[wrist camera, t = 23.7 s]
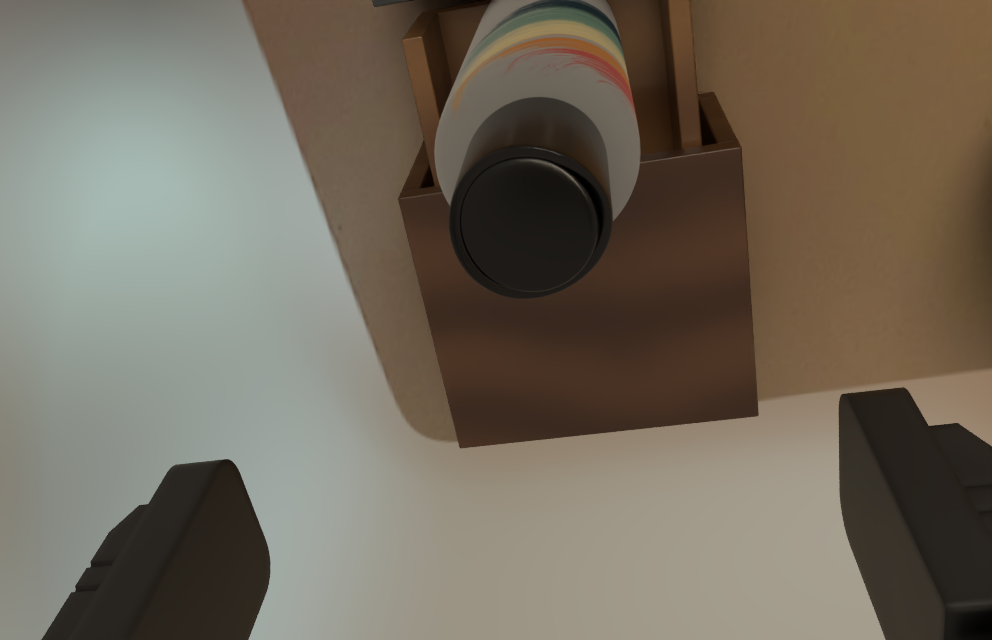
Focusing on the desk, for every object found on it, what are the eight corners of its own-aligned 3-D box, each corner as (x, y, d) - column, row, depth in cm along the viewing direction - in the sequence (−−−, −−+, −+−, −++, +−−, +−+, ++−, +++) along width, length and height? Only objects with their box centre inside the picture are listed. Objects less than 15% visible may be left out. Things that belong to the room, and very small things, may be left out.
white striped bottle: (559, 134, 41) (549, 384, 23) (452, 52, 39) (356, 251, 22) (647, 26, 38) (710, 214, 21) (536, -65, 37) (504, 54, 19)
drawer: (357, -209, 36) (321, -211, 31) (672, -278, 34) (689, -292, 29) (447, 200, 44) (431, 252, 38) (707, 161, 42) (726, 210, 37)
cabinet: (424, 137, 43) (397, 198, 36) (714, 91, 41) (741, 146, 35) (474, 361, 49) (459, 449, 42) (732, 329, 47) (758, 416, 40)
